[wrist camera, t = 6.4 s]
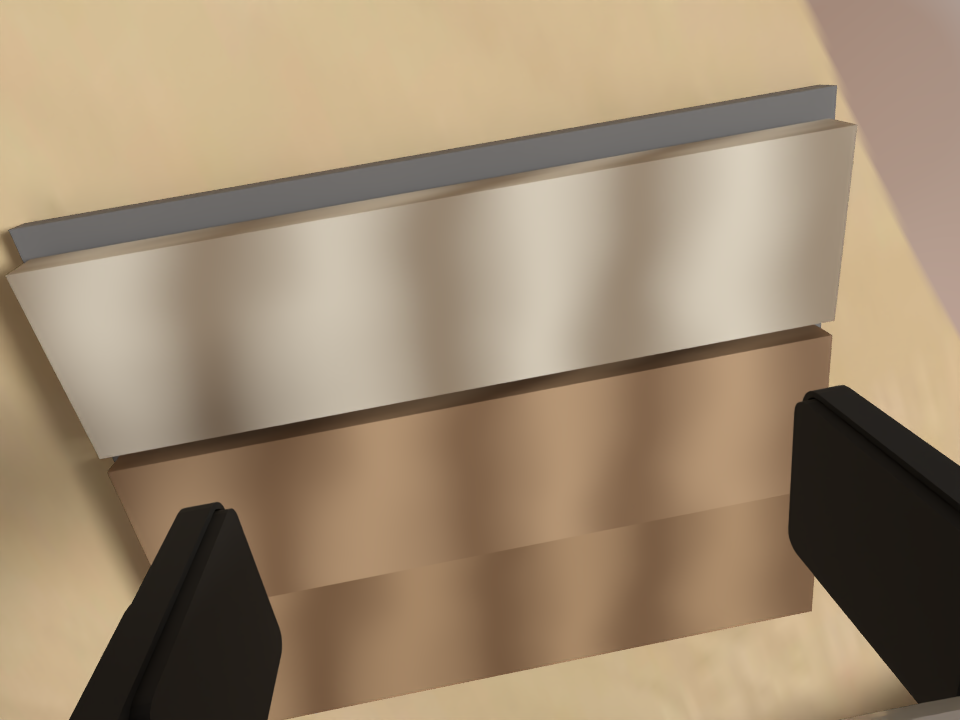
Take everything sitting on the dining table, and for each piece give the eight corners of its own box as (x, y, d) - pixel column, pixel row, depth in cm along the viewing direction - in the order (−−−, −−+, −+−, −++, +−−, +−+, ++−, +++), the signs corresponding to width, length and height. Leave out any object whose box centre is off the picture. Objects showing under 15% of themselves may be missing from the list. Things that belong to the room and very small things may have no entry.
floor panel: (819, 84, 23) (866, 86, 20) (791, 574, 32) (822, 613, 29) (25, 223, 22) (-19, 241, 19) (231, 688, 31) (218, 738, 28)
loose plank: (829, 118, 22) (857, 124, 20) (810, 304, 25) (834, 320, 23) (29, 259, 21) (5, 275, 19) (115, 434, 24) (99, 459, 22)
